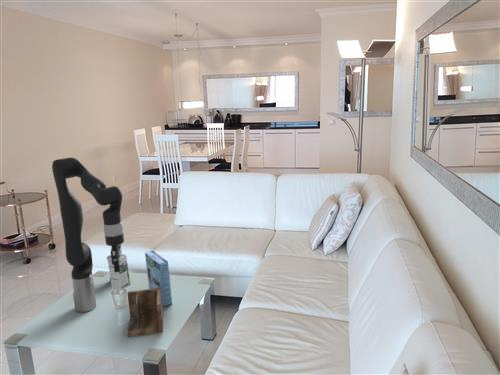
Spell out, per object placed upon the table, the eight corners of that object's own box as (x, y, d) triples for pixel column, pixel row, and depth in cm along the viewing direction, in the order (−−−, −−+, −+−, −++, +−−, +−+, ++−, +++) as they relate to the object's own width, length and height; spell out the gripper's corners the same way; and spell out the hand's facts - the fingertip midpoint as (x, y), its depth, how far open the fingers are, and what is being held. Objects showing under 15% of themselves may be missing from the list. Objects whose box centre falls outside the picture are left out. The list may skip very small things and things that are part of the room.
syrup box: (120, 291, 172) (116, 259, 169) (111, 288, 175) (107, 257, 172) (130, 285, 177) (126, 255, 174) (121, 283, 180) (117, 253, 176)
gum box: (172, 304, 198) (168, 261, 193) (162, 307, 195) (158, 264, 190) (157, 289, 214) (153, 250, 209) (148, 292, 211) (144, 252, 206)
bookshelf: (127, 337, 171) (124, 308, 168) (130, 317, 187) (127, 291, 184) (162, 332, 174) (160, 304, 171) (163, 313, 190) (160, 287, 187)
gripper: (107, 228, 176) (111, 262, 180) (102, 239, 163) (107, 276, 166) (124, 226, 178) (128, 260, 181) (121, 237, 164) (125, 273, 168)
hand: (118, 268), depth 174 cm, fingers closed on syrup box, 8 cm apart
